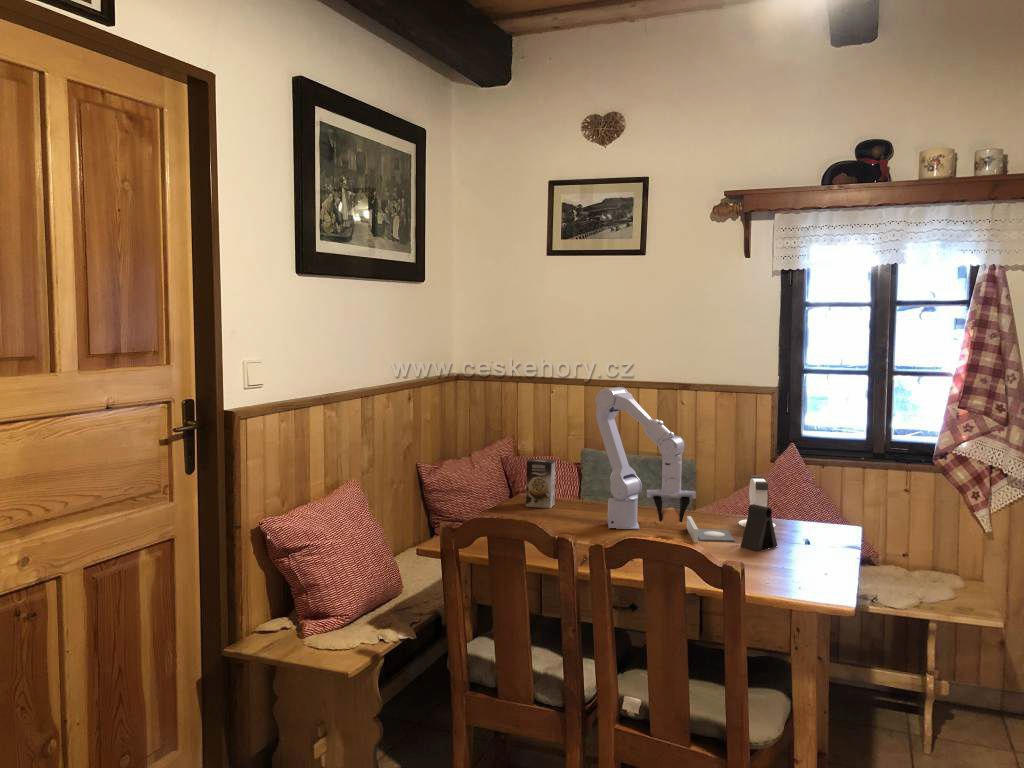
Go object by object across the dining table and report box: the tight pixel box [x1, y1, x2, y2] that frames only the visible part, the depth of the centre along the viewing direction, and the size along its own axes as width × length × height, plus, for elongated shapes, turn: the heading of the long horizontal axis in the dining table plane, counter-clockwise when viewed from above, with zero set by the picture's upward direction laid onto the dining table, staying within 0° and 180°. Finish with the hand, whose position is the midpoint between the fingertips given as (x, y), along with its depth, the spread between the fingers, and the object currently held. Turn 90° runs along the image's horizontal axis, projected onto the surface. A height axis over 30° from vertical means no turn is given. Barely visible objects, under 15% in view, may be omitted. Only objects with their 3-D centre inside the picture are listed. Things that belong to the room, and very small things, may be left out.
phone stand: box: [740, 504, 778, 553], centre depth 240 cm, size 9×6×12 cm, turn 125°
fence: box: [686, 515, 699, 544], centre depth 253 cm, size 1×16×4 cm, turn 176°
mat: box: [698, 528, 735, 543], centre depth 252 cm, size 10×12×1 cm
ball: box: [662, 507, 680, 527], centre depth 253 cm, size 6×6×6 cm
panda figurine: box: [738, 475, 777, 528], centre depth 265 cm, size 12×11×15 cm
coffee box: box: [525, 457, 556, 509], centre depth 290 cm, size 9×6×16 cm
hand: (670, 521), depth 253 cm, fingers closed on ball, 5 cm apart
